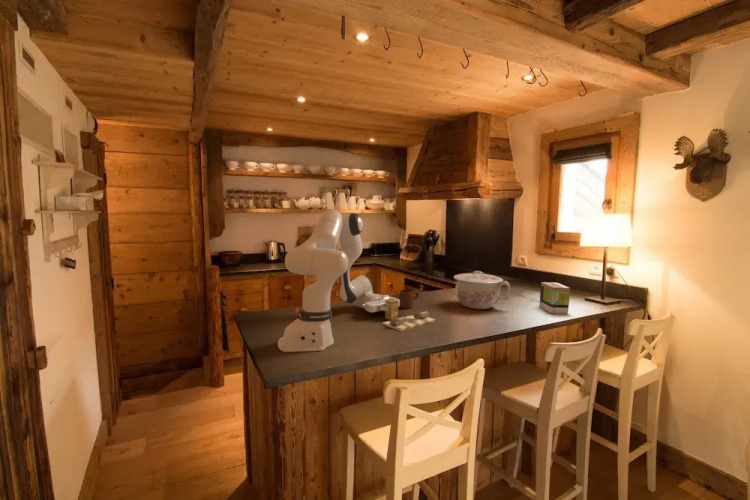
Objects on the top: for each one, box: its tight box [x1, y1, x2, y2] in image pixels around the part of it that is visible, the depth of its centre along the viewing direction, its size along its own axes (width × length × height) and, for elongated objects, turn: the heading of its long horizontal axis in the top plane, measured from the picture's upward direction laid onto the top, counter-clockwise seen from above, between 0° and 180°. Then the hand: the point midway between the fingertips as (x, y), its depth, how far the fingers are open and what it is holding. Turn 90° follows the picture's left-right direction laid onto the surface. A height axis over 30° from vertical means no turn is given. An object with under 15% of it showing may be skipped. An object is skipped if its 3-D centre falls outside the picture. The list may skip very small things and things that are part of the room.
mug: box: [398, 288, 420, 310], centre depth 209 cm, size 12×8×9 cm, turn 114°
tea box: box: [538, 281, 571, 315], centre depth 208 cm, size 15×10×15 cm
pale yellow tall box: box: [384, 299, 399, 321], centre depth 187 cm, size 4×4×10 cm
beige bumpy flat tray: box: [382, 310, 436, 332], centre depth 181 cm, size 24×12×4 cm, turn 130°
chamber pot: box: [453, 270, 512, 311], centre depth 212 cm, size 28×28×21 cm
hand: (392, 308), depth 186 cm, fingers closed on pale yellow tall box, 4 cm apart
